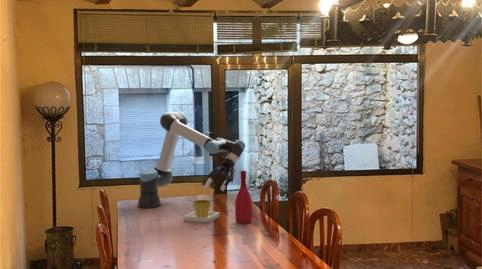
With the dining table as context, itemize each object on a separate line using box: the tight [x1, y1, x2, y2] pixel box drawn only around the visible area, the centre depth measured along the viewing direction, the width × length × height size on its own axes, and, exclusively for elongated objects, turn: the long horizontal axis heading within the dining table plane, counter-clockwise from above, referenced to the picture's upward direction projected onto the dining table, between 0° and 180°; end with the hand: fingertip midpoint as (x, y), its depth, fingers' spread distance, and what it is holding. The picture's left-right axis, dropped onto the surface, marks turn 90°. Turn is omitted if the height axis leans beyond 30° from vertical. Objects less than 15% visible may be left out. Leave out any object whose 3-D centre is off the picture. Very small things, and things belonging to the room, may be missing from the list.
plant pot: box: [192, 199, 212, 218], centre depth 307 cm, size 10×10×10 cm
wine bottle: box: [234, 170, 253, 224], centre depth 299 cm, size 10×10×30 cm
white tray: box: [183, 210, 220, 224], centre depth 307 cm, size 16×16×3 cm
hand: (213, 188), depth 314 cm, fingers open, 13 cm apart
